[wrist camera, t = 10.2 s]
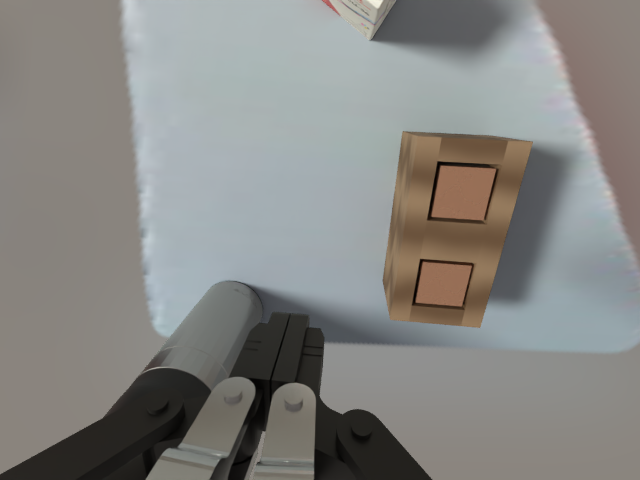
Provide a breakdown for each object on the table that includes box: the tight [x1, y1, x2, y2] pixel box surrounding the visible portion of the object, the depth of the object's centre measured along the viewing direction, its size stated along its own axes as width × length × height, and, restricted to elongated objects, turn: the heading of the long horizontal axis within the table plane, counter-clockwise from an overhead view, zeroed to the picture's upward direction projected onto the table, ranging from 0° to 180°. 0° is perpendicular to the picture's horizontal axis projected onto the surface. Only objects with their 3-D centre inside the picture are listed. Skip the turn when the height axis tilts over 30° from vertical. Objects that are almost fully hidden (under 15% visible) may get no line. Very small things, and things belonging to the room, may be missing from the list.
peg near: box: [428, 161, 496, 220], centre depth 34 cm, size 5×5×9 cm
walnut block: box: [383, 131, 533, 328], centre depth 36 cm, size 20×10×9 cm, turn 178°
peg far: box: [413, 259, 472, 306], centre depth 38 cm, size 5×5×9 cm
